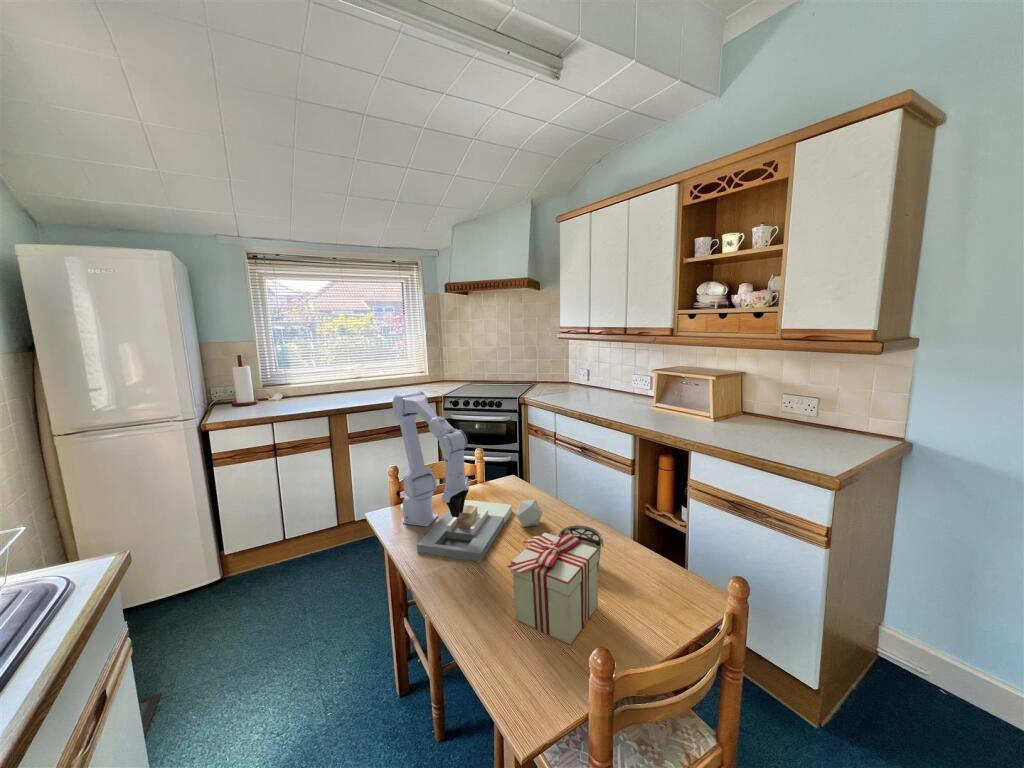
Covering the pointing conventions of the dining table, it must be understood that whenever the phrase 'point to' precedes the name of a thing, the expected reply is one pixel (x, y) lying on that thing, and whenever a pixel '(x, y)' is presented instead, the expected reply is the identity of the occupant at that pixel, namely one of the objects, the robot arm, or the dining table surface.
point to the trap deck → (466, 533)
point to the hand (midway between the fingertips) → (457, 514)
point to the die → (529, 513)
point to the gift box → (555, 585)
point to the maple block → (467, 516)
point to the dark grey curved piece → (585, 536)
